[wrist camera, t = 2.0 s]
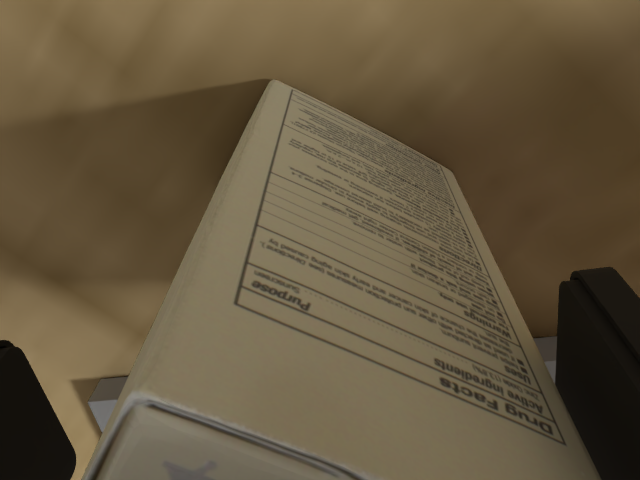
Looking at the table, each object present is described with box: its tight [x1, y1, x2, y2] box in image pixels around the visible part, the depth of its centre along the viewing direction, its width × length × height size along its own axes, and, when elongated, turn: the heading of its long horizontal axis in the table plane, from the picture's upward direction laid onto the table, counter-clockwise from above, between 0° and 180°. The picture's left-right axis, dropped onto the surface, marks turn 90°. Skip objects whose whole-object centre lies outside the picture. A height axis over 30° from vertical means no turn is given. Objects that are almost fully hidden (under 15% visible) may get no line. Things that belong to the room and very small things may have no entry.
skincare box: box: [81, 80, 601, 480], centre depth 12 cm, size 6×4×12 cm
